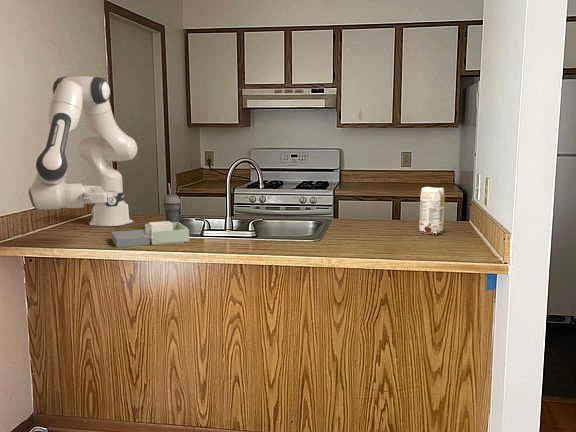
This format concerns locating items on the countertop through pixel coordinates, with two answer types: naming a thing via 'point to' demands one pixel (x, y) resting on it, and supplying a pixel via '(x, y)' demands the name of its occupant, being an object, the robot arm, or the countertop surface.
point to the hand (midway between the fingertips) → (117, 193)
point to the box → (169, 235)
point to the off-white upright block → (159, 227)
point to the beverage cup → (172, 207)
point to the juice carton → (431, 209)
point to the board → (130, 238)
